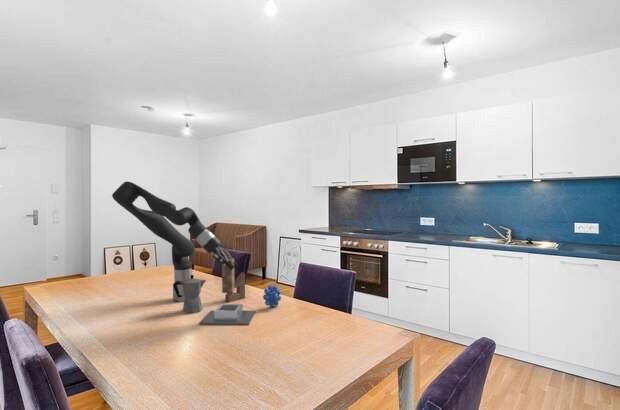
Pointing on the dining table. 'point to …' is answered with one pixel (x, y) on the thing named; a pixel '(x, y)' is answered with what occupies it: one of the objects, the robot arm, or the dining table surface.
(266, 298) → the grapes
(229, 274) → the walnut post
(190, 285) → the coffeepot
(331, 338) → the dining table surface
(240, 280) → the brown wooden pegged bracket
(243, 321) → the keeper cradle
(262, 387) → the dining table surface
